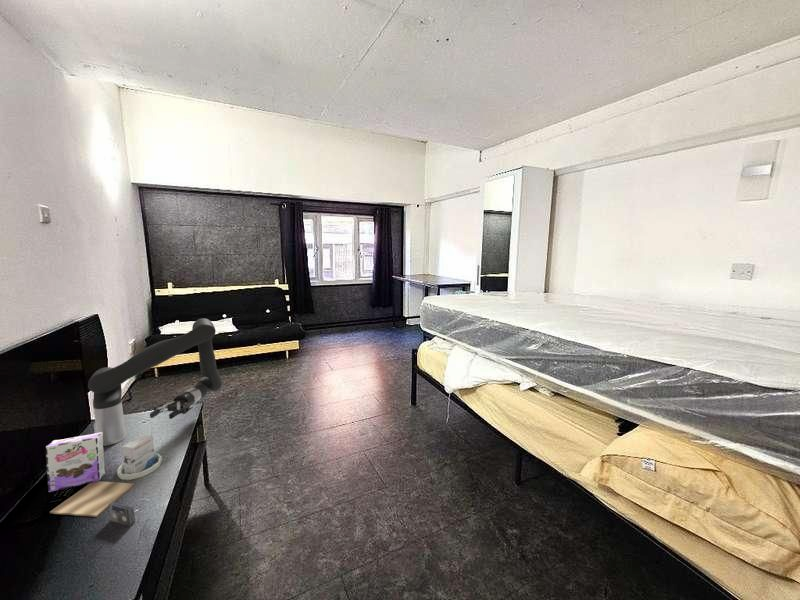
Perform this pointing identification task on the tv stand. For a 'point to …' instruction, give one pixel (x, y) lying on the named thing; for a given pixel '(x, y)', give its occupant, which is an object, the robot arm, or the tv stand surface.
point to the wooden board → (92, 499)
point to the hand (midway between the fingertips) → (160, 416)
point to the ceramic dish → (139, 474)
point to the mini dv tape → (121, 513)
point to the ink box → (138, 454)
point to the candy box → (75, 461)
